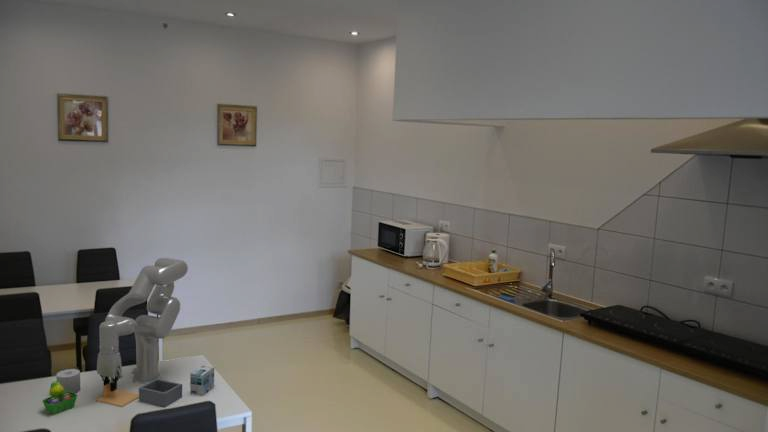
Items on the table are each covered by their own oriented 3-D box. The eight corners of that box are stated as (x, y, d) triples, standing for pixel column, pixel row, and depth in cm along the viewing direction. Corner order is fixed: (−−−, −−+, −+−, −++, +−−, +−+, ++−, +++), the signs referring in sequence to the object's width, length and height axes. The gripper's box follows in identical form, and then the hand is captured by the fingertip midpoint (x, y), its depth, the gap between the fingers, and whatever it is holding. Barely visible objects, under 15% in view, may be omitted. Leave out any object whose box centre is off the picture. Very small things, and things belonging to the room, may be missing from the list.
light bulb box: (203, 398, 259) (203, 375, 258) (189, 396, 261) (189, 373, 259) (214, 388, 270) (214, 366, 268) (201, 386, 271) (201, 364, 269)
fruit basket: (51, 416, 237) (50, 390, 236) (40, 410, 242) (39, 385, 240) (78, 406, 247) (78, 381, 245) (67, 400, 251) (66, 376, 250)
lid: (95, 403, 251) (95, 388, 250) (116, 392, 261) (116, 378, 261) (121, 409, 246) (121, 394, 245) (142, 398, 256) (141, 384, 256)
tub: (139, 403, 252) (138, 387, 251) (156, 393, 262) (156, 378, 261) (165, 409, 247) (164, 393, 246) (182, 399, 257) (182, 384, 256)
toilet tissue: (76, 382, 270) (76, 364, 269) (81, 392, 259) (81, 374, 258) (54, 386, 265) (54, 368, 264) (58, 397, 254) (58, 378, 253)
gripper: (88, 349, 252) (89, 389, 254) (117, 355, 246) (118, 396, 249) (101, 344, 259) (102, 383, 261) (130, 349, 253) (131, 389, 256)
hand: (110, 389), depth 255 cm, fingers open, 3 cm apart
